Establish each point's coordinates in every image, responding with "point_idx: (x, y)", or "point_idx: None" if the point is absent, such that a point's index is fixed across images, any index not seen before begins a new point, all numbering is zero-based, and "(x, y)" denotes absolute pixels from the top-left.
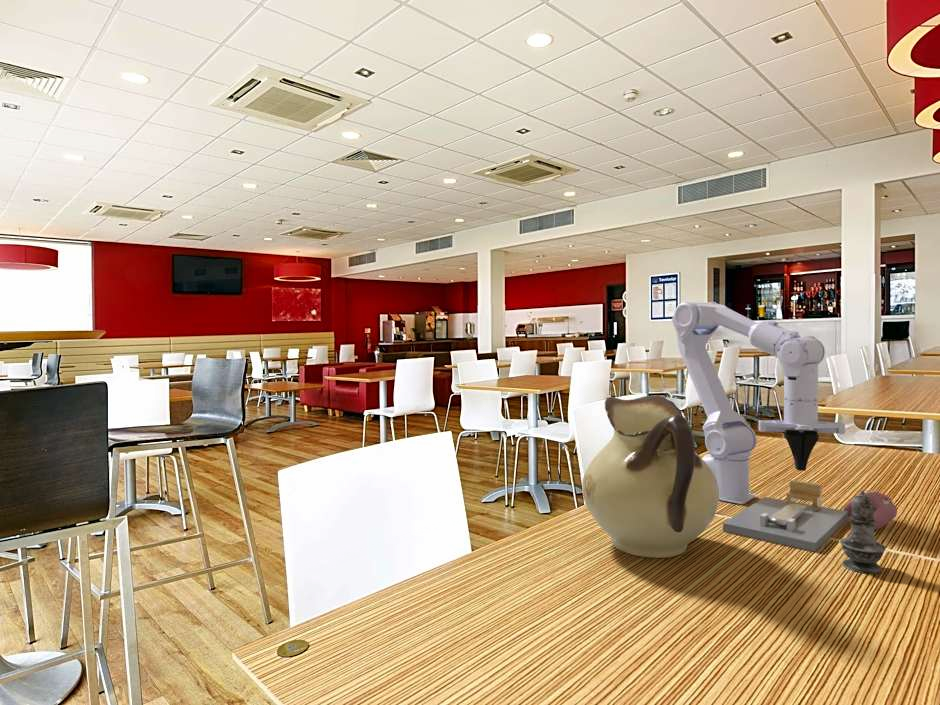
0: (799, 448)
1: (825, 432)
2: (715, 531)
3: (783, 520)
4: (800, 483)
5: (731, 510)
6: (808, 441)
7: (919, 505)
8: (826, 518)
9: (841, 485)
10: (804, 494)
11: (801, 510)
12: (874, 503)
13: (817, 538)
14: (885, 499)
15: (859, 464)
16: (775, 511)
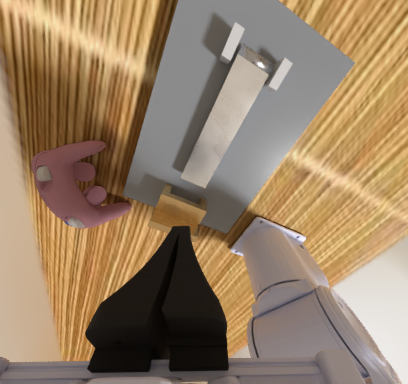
0: (180, 271)
1: (58, 364)
2: (357, 61)
3: (246, 50)
4: None
5: (280, 191)
6: (141, 296)
7: (52, 256)
8: (155, 149)
9: None
10: (179, 211)
11: (193, 149)
12: (69, 180)
13: None
14: (45, 187)
15: None
16: (229, 168)
